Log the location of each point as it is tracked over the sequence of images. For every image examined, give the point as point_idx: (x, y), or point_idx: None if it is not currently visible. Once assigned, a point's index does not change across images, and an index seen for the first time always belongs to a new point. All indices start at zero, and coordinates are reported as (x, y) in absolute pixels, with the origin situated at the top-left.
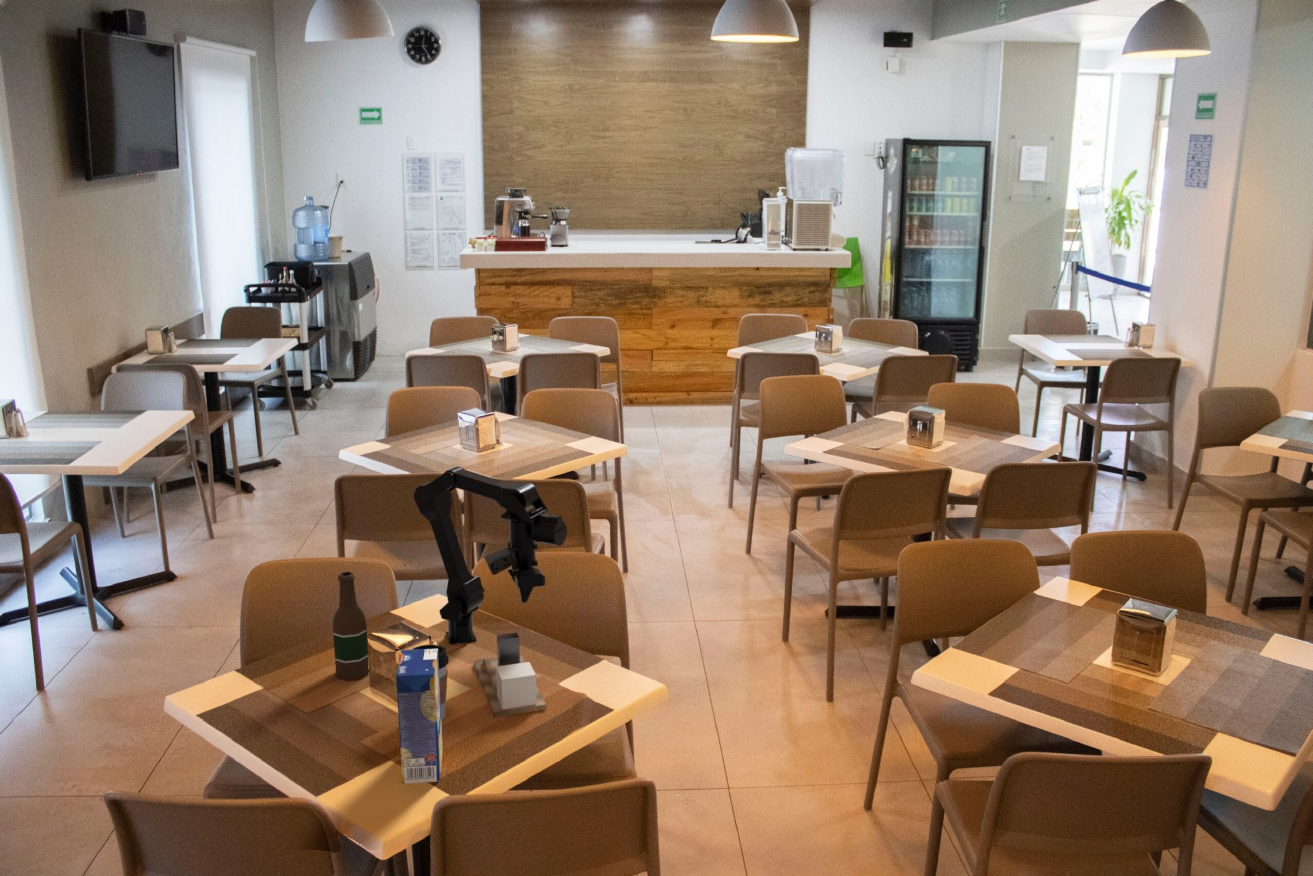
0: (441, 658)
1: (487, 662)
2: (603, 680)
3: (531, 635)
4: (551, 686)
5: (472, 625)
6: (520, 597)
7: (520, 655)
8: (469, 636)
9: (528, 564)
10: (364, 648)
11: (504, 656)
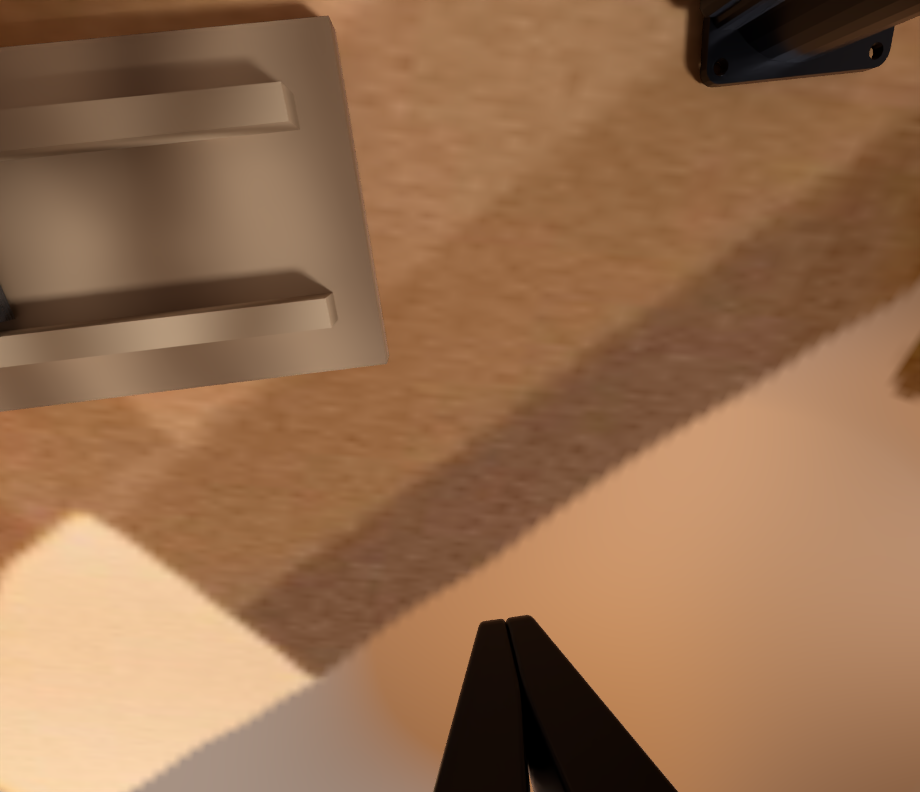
0: None
1: (176, 110)
2: (125, 677)
3: (666, 428)
4: (46, 478)
5: (848, 35)
6: (547, 657)
7: (370, 358)
8: (734, 15)
9: None
10: None
11: None
